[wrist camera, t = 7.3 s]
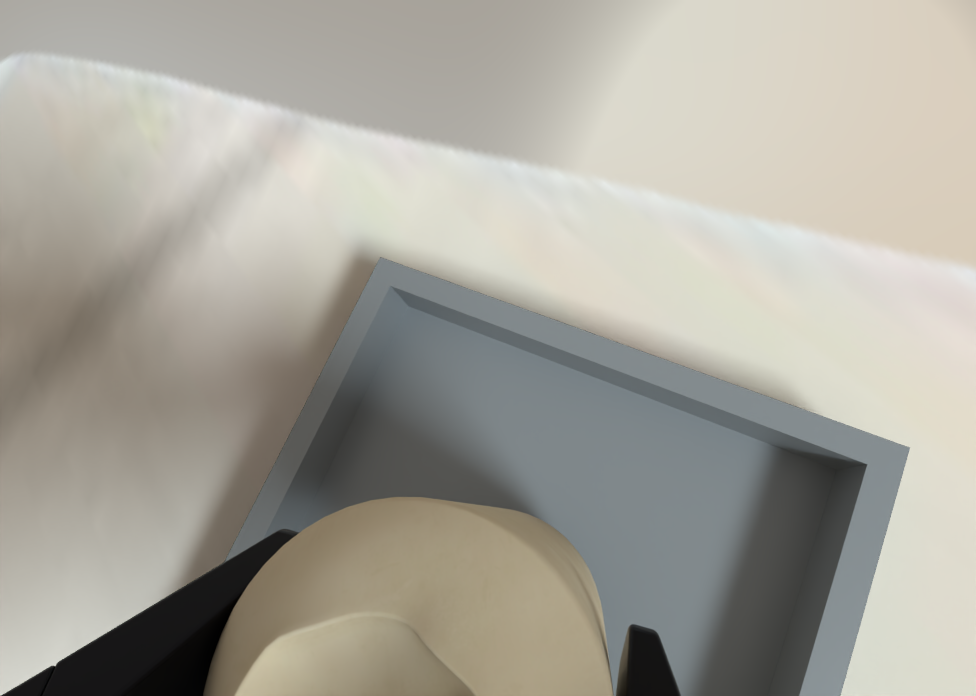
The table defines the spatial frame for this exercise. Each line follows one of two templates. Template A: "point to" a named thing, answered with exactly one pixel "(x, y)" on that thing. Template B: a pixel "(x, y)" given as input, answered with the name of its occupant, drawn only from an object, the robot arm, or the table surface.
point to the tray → (605, 477)
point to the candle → (417, 609)
